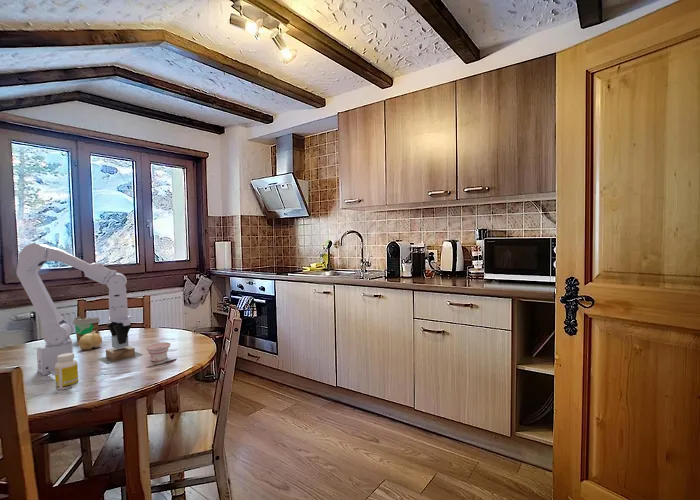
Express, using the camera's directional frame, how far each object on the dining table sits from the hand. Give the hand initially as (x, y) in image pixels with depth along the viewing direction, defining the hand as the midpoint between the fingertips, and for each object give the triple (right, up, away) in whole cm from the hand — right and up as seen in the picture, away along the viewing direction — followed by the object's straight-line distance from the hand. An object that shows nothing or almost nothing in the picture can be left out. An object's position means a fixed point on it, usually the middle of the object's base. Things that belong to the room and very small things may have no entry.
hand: (119, 342), depth 134 cm
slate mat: (0, -6, 0) cm, 6 cm away
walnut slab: (0, -5, 0) cm, 5 cm away
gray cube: (0, -2, 0) cm, 2 cm away
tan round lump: (-22, -7, +16) cm, 28 cm away
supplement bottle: (-1, -7, -24) cm, 25 cm away
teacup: (+16, -7, -4) cm, 18 cm away
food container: (-35, -7, +29) cm, 46 cm away
